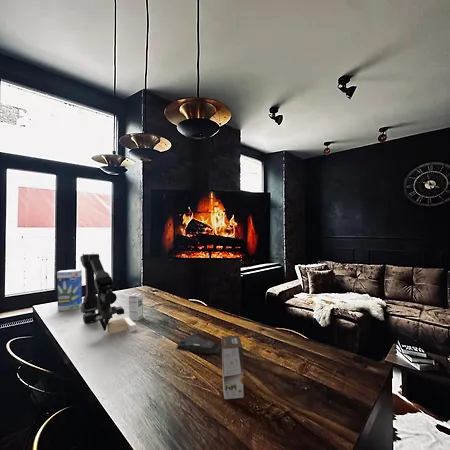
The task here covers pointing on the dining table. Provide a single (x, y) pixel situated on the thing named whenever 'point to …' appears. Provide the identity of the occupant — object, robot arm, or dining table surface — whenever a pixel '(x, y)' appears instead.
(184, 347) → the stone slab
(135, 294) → the syrup box
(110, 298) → the robot arm
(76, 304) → the string lights box
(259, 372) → the dining table surface
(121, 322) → the oak block
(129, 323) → the plank
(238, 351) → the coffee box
